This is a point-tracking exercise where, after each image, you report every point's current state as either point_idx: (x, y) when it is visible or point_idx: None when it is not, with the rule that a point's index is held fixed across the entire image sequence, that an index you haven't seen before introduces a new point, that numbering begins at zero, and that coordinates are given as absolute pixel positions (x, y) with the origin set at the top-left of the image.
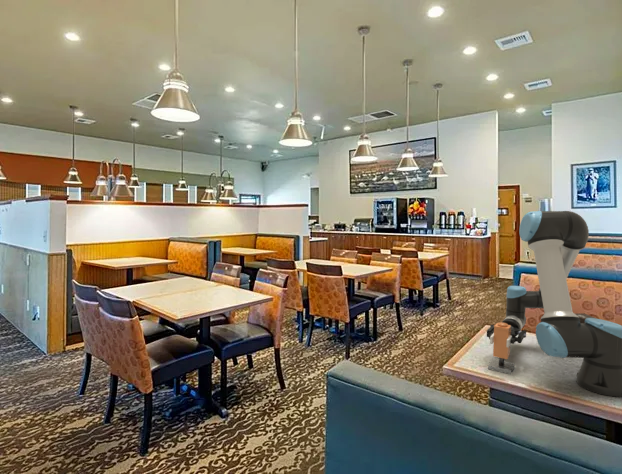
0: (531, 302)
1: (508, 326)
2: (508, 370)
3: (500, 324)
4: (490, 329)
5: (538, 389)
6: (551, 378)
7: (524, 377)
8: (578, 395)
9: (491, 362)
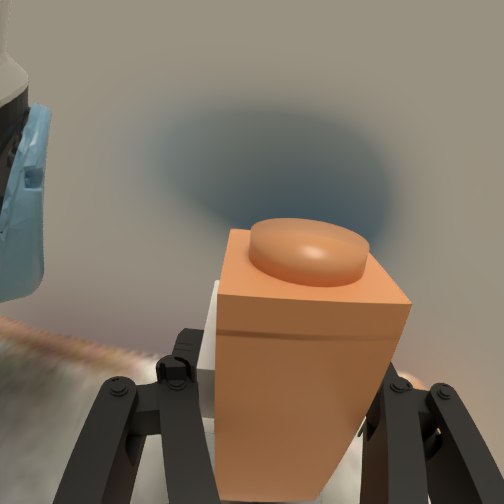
0: None
1: (242, 259)
2: (210, 434)
3: (316, 221)
4: (463, 439)
5: (108, 360)
6: (28, 455)
7: None
8: (7, 356)
9: None
